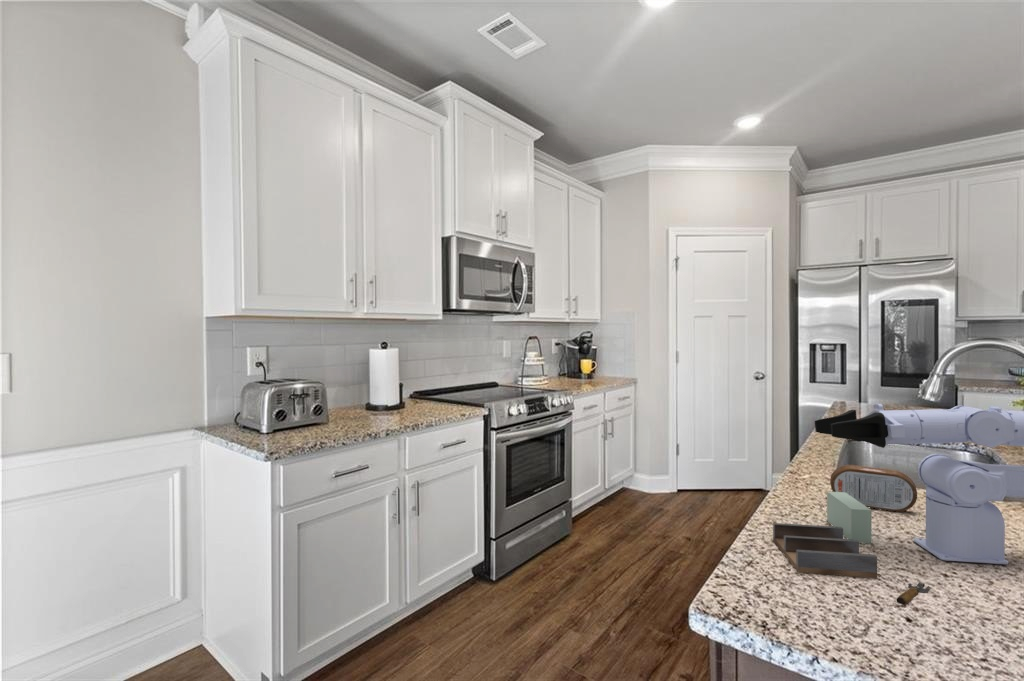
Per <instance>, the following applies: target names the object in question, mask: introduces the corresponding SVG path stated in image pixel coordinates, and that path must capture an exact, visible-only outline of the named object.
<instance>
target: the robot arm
mask: <svg viewBox="0 0 1024 681" xmlns="http://www.w3.org/2000/svg"><path fill="white" fill-rule="evenodd" d="M814 430H815V433H819V434H823V435H830V436H831V437H833V438H837V439H843V440H852V441H855V442H859V443H860V442H864V443H867V444H871V445H873V446H877V447H879V448H883V449H884V448H885V447H886V446H888V445H916V444H917V445H918V444H920V445H923V444H928V445H929V444H932V445H933V444H951V443H952V444H953V443H972V444H975V445H979V446H983V447H987V448H995V447H999V446H1011V447H1012V446H1013V447H1023V448H1024V408H1023V410H1009V409H1008V410H1007V409H1002V408H1001V407H999V406H989V407H988V409H987V410H986V409H983V408H982V409H981V408H977V407H973V406H964V404H962V405H961V404H960V405H959V404H958V405H956V406H954V407H951V408H949V409H941V408H932V409H931V408H929V409H894V410H893V409H890V410H885V409H884V405H883V404H882V403H874V404H873V410H872V411H870V412H869V413H868V414H866V415H865V416H864V417H861V418H857V410H856V409H849V410H848V411H845V412H843V413H841V414H839V415H838V414H837V415H834V416H830V417H825V418H821V419H817V420H814ZM917 475H918V477H919V480H920V481H921V482H922V483H923V484H924V485H925V538H920V537H919V538H918V537H917V538H916V537H914V538H913V541H912V542H915V543H916V544H917V545H919V546H920V547H922V548H923V549H925V550H926V551H927V552H929V553H930V554H931V555H934V556H935V557H936V558H938V559H940V560H941V561H949V562H965V563H966V562H967V563H979V564H981V563H982V564H993V565H994V564H995V565H1009V561H1008V560H1007V559H1006V558H1005V554H1006V552H1005V551H1006V549H1005V548H1006V547H1005V546H1006V545H1005V544H1006V543H1005V542H1006V541H1005V538H1006V536H1005V535H1006V533H1005V532H1006V531H1005V530H1006V524H1005V520H1004V516H1003V513H1002V512H1001V510H1000V508H998V506H996V504H994V503H993V502H1002V501H1004V499H1005V497H1013V498H1024V465H1021V464H1020V465H1019V464H1017V465H1016V464H1015V465H1013V464H990V463H985V462H978V461H972V460H966V459H956V458H953V457H951V456H949V455H947V454H943V453H932V454H929V455H927V456H925V457H923V458H922V460H920V461H919V464H918V466H917Z"/></svg>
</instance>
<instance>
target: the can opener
mask: <svg viewBox="0 0 1024 681" xmlns="http://www.w3.org/2000/svg"><path fill="white" fill-rule="evenodd" d="M913 584H914V583H908V585H907V586H908V587H909V589H907V590H906V591H904V592H902V593H901V594H900V595H898V596H897V597H896V602H897V604H901V605H903V606H905V605H907V604H908V603H910V602H911V601H912V599H913V598H914V597H916V596H917V595H918V594H919V592H920V593H923V594H928V593H929V592H930V591H931V589H932V588H931V586H930V585H928V586H927V587H926V588H923V587H925V583H924V582H922V581H919V582H918V583H917V585H916V586H914V585H913Z"/></svg>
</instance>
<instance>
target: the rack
mask: <svg viewBox="0 0 1024 681" xmlns="http://www.w3.org/2000/svg"><path fill="white" fill-rule="evenodd" d="M772 541H773V543H774V544H775V545H776V546H777V547H778V549H779V550H780V551H781V552H782V554H783V555H784V556H785V558H786V559H787V560H788V561H789V563H790V564H791V565H792V566H793V568H794V569H795V570H796V571H797V573H802V574H806V573H807V574H817V575H818V574H819V575H832V576H833V575H834V576H846V577H859V578H872V579H878V556H877V555H876V554H870V553H860V543H859V541H858V540H851V539H847V538H844V535H843V528H842V527H835V526H832V525H815V524H813V525H811V524H795V523H782V522H781V523H779V522H778V523H777V522H773V523H772Z"/></svg>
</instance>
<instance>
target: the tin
mask: <svg viewBox="0 0 1024 681" xmlns="http://www.w3.org/2000/svg"><path fill="white" fill-rule="evenodd" d="M829 483H830V488H831V492H845V493H847V494H848V495H850V496H851V497H853V498H854V499H856V500H857V501H859V502H860V503H862V504H863V505H865V506H866V507H870V508H869V509H872V508H875V509H874V510H878V509H881V510H880V511H885V510H888V511H887V512H891V511H896V512H895V513H902V512H906V511H908V510H910V509H911V508H912V507H914V506H915V504H916V503H917V501H918V491H917V486H916V484H915V482H914V480H912V479H911V478H910V477H909V476H908V475H907V474H905V473H904V472H901V471H899V470H894V469H887V468H879V467H871V466H864V465H863V466H862V465H861V466H860V465H856V464H845V465H842V466H839V467H837V468H836V469H835V470H834V471H832V473H831V476H830V480H829Z"/></svg>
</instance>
